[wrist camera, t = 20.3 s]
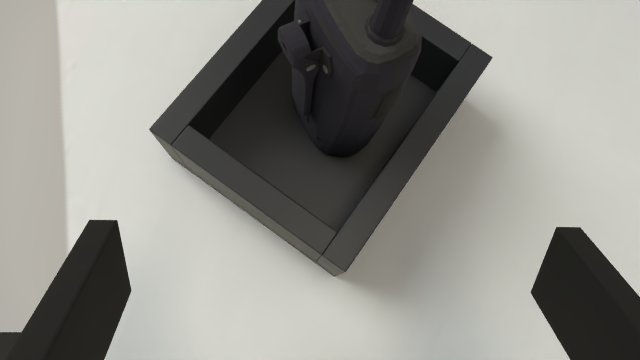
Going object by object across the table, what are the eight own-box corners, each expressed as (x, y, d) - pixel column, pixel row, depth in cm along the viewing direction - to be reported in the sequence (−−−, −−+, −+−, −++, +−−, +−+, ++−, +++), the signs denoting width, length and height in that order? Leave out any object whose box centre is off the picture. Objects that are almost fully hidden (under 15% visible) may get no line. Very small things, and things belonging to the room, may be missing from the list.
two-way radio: (383, 147, 25) (526, -61, 10) (307, 184, 24) (346, 16, 10) (334, 59, 26) (402, -245, 11) (260, 92, 25) (229, -189, 10)
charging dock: (170, 157, 25) (148, 129, 20) (310, -8, 28) (315, -62, 23) (334, 276, 24) (345, 272, 20) (460, 94, 27) (493, 57, 23)
